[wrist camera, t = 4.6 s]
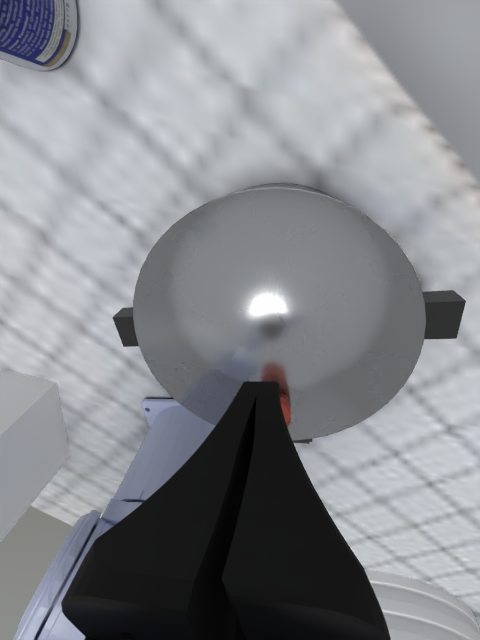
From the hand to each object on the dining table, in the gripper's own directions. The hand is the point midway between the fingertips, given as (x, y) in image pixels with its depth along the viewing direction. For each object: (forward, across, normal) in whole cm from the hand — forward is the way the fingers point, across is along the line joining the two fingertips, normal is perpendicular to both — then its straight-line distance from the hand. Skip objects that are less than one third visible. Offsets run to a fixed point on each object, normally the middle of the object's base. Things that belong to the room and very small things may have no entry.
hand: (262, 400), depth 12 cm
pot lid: (+4, 0, 0) cm, 4 cm away
